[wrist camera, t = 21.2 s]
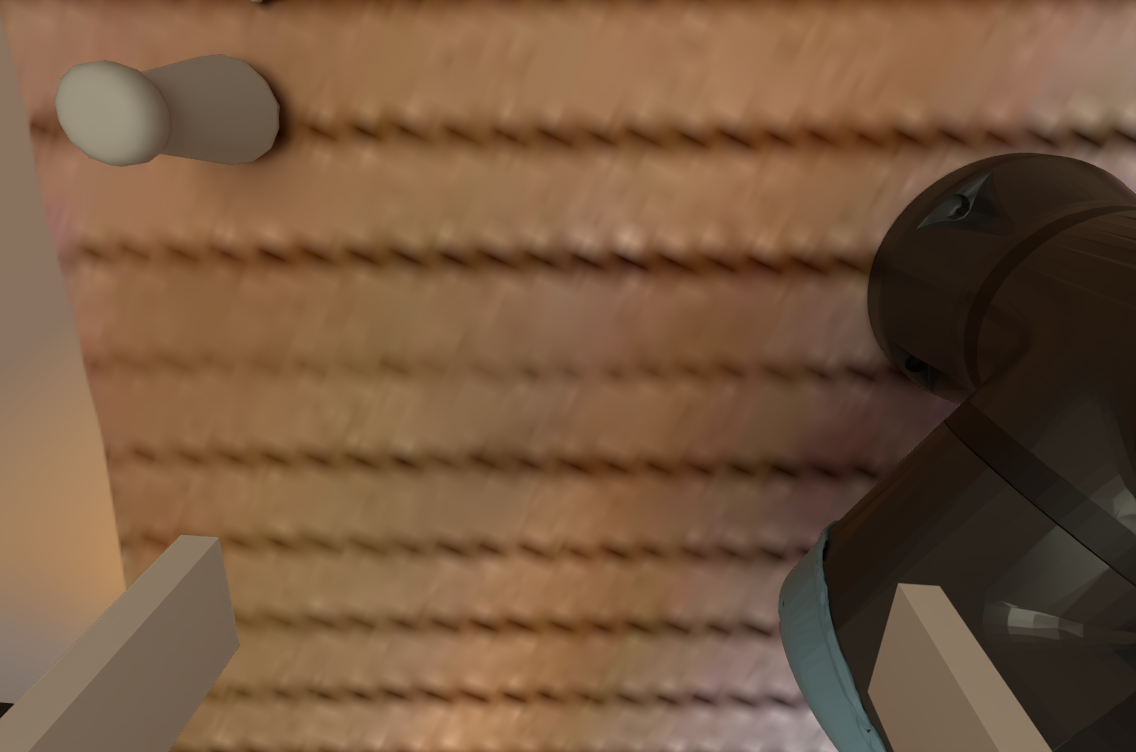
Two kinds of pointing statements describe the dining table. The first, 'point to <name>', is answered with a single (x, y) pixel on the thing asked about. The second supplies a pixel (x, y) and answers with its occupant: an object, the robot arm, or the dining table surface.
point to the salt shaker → (168, 111)
